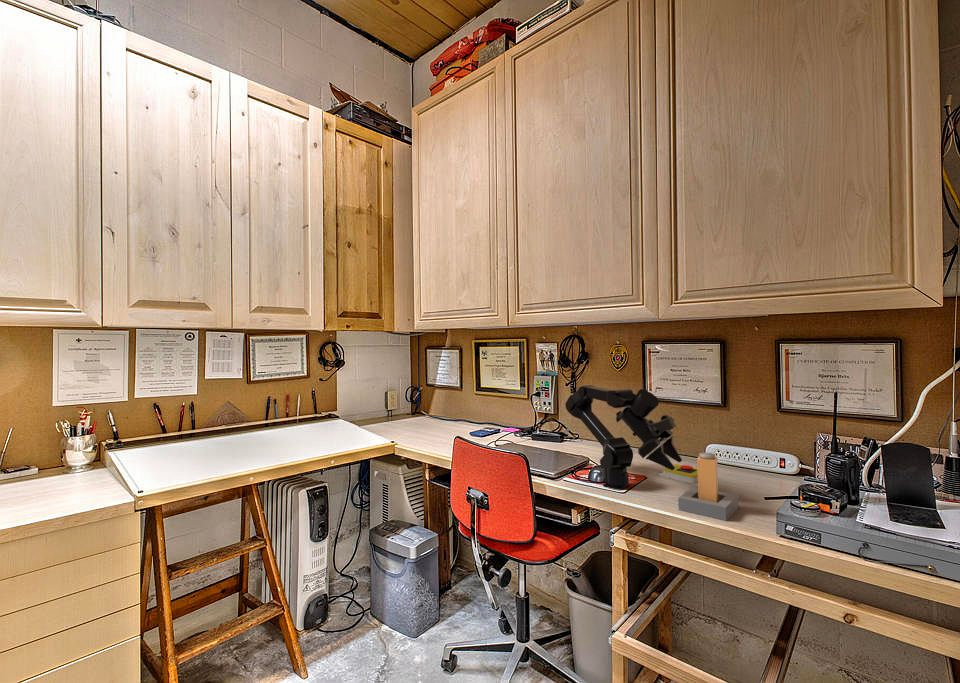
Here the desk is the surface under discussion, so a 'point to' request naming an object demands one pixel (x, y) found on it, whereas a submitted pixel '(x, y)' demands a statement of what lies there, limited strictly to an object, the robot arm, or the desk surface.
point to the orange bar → (707, 477)
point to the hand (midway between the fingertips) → (677, 465)
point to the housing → (708, 504)
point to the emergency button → (681, 473)
